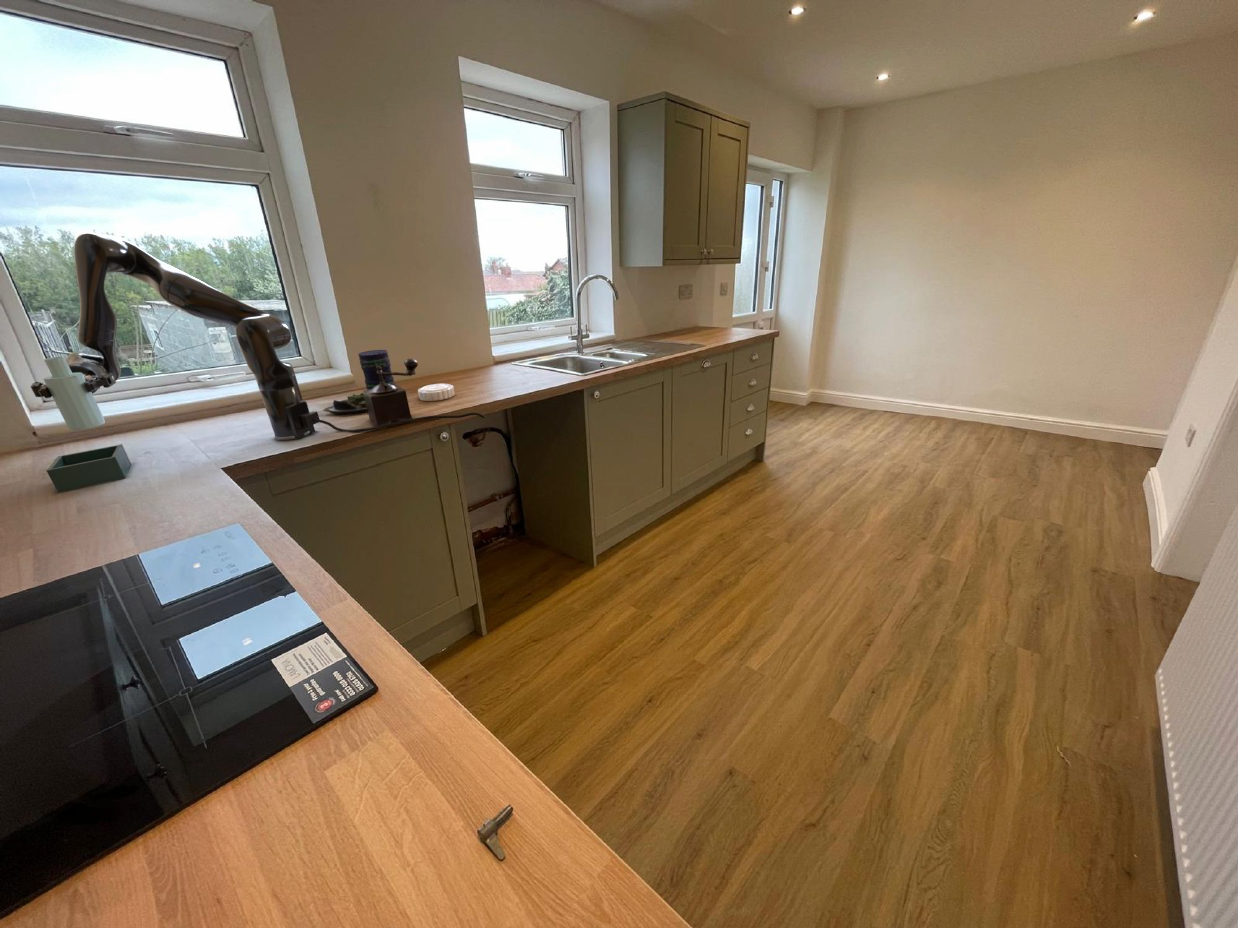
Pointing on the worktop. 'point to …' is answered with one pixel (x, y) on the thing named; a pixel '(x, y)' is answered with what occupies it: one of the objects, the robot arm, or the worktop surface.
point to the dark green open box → (89, 468)
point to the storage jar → (375, 367)
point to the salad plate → (349, 406)
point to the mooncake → (436, 392)
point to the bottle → (72, 396)
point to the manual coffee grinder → (389, 398)
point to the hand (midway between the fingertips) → (67, 390)
